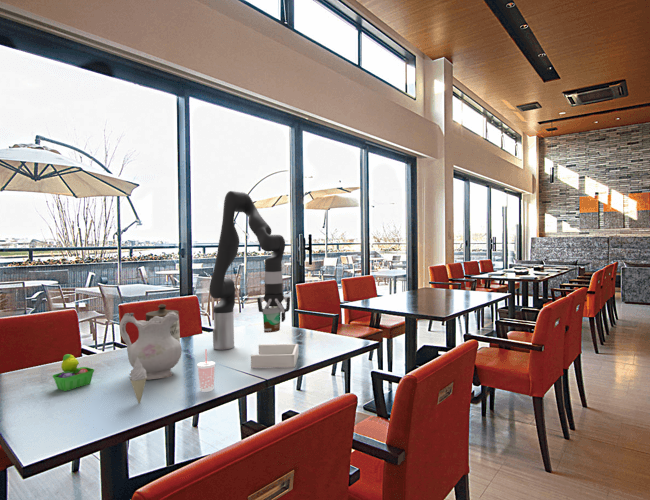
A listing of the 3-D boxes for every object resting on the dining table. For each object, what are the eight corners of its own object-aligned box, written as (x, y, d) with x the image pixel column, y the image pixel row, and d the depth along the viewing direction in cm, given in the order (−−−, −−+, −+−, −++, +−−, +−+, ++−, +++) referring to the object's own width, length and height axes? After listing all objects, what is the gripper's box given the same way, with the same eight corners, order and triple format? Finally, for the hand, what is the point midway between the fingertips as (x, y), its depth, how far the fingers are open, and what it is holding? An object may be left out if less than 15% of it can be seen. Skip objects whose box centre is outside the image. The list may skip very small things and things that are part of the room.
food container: (277, 333, 171) (276, 309, 171) (262, 333, 173) (262, 309, 172) (286, 327, 183) (285, 304, 183) (272, 327, 185) (272, 304, 184)
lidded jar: (164, 356, 190) (163, 307, 189) (139, 353, 196) (137, 306, 195) (186, 347, 204) (185, 302, 203) (162, 345, 209) (161, 301, 209)
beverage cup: (209, 385, 150) (208, 346, 150) (219, 388, 146) (218, 348, 146) (194, 390, 145) (193, 349, 145) (204, 393, 141) (203, 352, 141)
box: (251, 367, 169) (250, 355, 169) (259, 355, 187) (258, 344, 187) (294, 367, 169) (294, 355, 169) (298, 355, 187) (298, 343, 187)
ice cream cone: (133, 400, 136) (132, 354, 136) (150, 399, 137) (148, 354, 137) (128, 406, 131) (126, 359, 131) (144, 406, 132) (143, 358, 132)
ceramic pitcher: (122, 390, 149) (120, 321, 147) (120, 371, 167) (118, 309, 164) (185, 380, 159) (185, 315, 157) (177, 363, 177) (177, 304, 174)
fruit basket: (63, 393, 145) (61, 360, 145) (50, 388, 150) (49, 357, 149) (95, 383, 154) (94, 352, 154) (82, 379, 159) (81, 349, 159)
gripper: (291, 281, 181) (292, 319, 181) (258, 281, 181) (259, 320, 182) (289, 282, 174) (290, 323, 174) (254, 283, 174) (255, 323, 174)
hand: (274, 321), depth 178 cm, fingers closed on food container, 6 cm apart
